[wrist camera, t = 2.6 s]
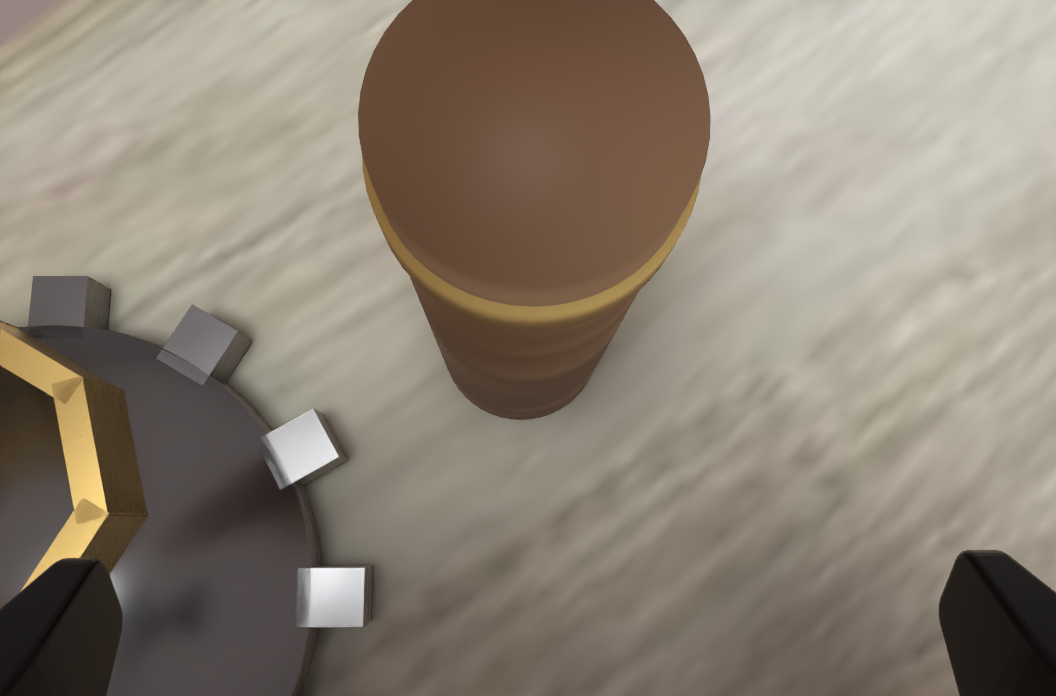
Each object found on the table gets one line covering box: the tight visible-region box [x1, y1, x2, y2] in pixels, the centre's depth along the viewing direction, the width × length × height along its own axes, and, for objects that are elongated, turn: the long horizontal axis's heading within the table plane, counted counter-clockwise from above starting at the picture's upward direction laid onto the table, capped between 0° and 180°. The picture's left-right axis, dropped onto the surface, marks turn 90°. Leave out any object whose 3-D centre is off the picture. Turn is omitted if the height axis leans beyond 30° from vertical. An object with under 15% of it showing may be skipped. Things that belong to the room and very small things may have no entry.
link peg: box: [358, 0, 710, 420], centre depth 16 cm, size 4×4×12 cm
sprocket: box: [0, 276, 373, 696], centre depth 19 cm, size 14×14×3 cm
